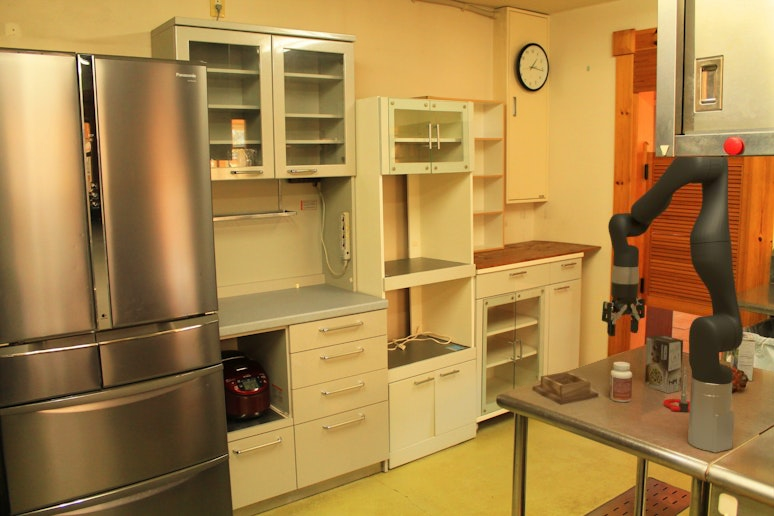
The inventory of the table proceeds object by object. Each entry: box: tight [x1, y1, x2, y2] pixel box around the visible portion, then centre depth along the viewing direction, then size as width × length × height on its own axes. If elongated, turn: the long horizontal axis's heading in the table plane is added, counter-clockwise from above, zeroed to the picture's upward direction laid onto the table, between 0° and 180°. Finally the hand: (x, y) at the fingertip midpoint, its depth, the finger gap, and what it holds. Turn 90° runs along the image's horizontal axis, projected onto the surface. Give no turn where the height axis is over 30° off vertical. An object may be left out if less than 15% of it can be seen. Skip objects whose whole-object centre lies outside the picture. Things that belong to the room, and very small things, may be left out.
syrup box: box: [729, 332, 756, 382], centre depth 214 cm, size 6×6×14 cm
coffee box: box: [644, 334, 684, 394], centre depth 206 cm, size 9×6×16 cm
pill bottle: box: [609, 361, 633, 403], centre depth 197 cm, size 6×6×11 cm
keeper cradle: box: [532, 371, 599, 406], centre depth 203 cm, size 14×14×5 cm
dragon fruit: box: [726, 365, 749, 392], centre depth 204 cm, size 8×8×12 cm
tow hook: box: [663, 366, 690, 413], centre depth 191 cm, size 8×13×9 cm
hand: (622, 334), depth 195 cm, fingers open, 8 cm apart
